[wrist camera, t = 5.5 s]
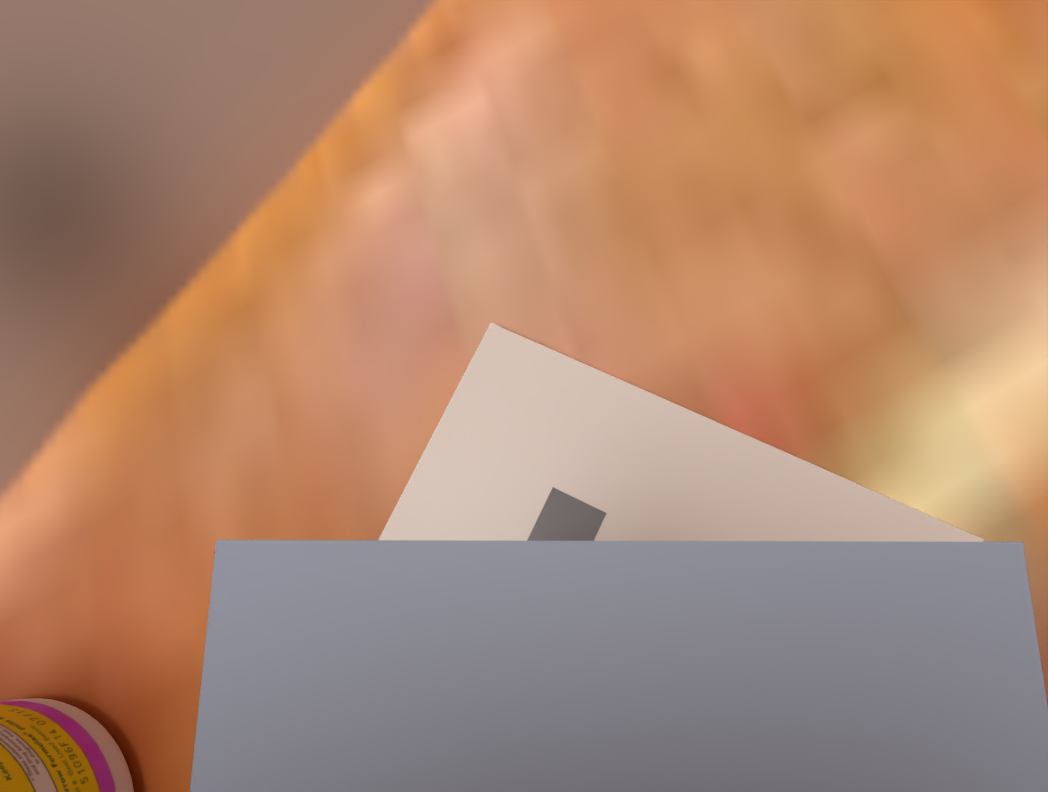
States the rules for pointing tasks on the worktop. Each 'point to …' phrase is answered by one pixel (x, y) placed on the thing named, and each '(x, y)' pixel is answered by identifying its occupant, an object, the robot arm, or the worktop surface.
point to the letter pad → (619, 468)
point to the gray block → (620, 667)
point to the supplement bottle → (57, 750)
